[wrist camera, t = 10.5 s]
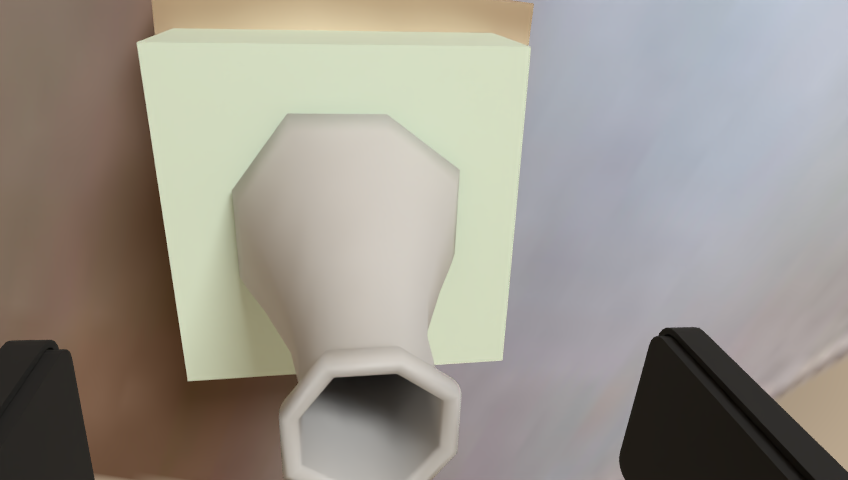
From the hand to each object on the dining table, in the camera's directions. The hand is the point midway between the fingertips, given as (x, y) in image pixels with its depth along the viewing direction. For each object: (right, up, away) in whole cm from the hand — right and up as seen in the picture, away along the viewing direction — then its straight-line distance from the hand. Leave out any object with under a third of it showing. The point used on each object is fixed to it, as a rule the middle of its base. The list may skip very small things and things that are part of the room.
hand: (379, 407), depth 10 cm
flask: (-2, +3, +10) cm, 10 cm away
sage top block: (-2, +5, +14) cm, 15 cm away
